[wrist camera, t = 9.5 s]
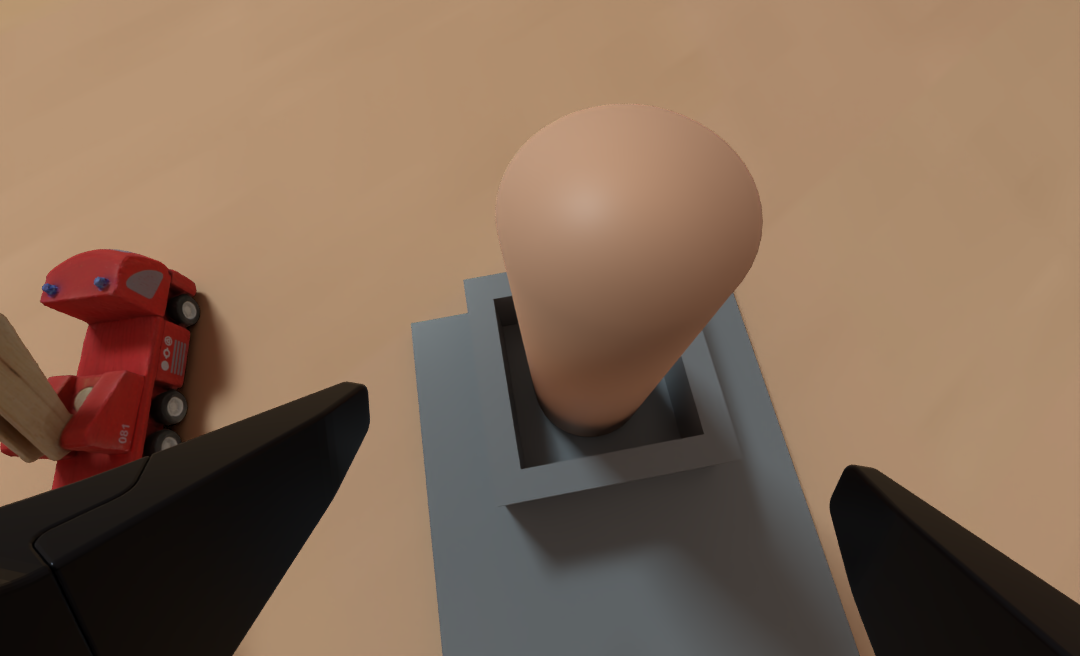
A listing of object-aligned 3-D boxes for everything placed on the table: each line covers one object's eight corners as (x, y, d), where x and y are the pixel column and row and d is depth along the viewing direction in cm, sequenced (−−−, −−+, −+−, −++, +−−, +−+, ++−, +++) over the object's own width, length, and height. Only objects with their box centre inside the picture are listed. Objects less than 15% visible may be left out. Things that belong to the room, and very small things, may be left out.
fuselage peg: (664, 383, 20) (818, 205, 8) (588, 460, 19) (635, 390, 7) (586, 312, 21) (620, 65, 9) (512, 381, 20) (442, 207, 8)
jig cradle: (855, 681, 17) (940, 734, 13) (460, 763, 16) (431, 841, 13) (716, 274, 22) (748, 228, 18) (417, 329, 22) (387, 293, 18)
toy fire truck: (207, 278, 23) (-19, 136, 14) (163, 595, 19) (-216, 687, 10) (139, 286, 23) (-131, 149, 14) (78, 606, 19) (-381, 707, 10)
